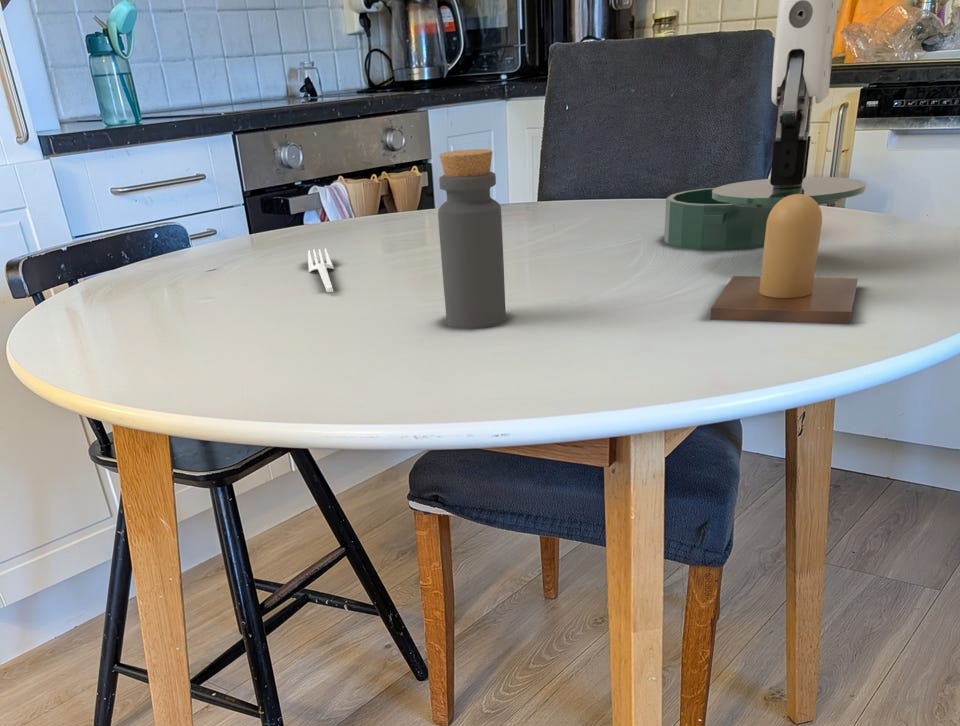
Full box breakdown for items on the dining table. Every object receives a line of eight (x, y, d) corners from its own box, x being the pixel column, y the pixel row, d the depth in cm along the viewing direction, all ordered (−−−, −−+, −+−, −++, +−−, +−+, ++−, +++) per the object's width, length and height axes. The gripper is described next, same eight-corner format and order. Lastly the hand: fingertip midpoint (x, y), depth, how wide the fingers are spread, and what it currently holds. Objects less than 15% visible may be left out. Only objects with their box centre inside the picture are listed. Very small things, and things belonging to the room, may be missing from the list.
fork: (316, 297, 101) (314, 280, 99) (307, 265, 117) (304, 250, 116) (344, 293, 101) (342, 276, 100) (331, 262, 117) (329, 247, 116)
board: (855, 294, 86) (858, 278, 86) (848, 329, 77) (851, 311, 76) (731, 291, 91) (733, 275, 90) (709, 324, 81) (711, 307, 80)
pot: (790, 228, 117) (796, 182, 114) (772, 260, 101) (778, 208, 98) (681, 228, 122) (684, 184, 119) (648, 258, 106) (650, 209, 103)
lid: (867, 186, 96) (877, 121, 93) (861, 209, 85) (872, 135, 81) (723, 191, 102) (727, 130, 98) (698, 212, 90) (702, 144, 87)
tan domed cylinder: (814, 287, 84) (827, 189, 79) (809, 299, 80) (823, 197, 75) (762, 285, 85) (773, 190, 81) (755, 297, 82) (766, 198, 77)
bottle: (514, 318, 87) (507, 147, 79) (494, 334, 82) (484, 154, 74) (460, 316, 89) (448, 149, 81) (437, 332, 84) (422, 156, 76)
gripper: (848, -47, 75) (819, 192, 85) (857, -36, 87) (831, 171, 97) (758, -36, 77) (740, 194, 87) (779, -27, 90) (761, 173, 100)
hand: (788, 180), depth 92 cm, fingers closed on lid, 3 cm apart
